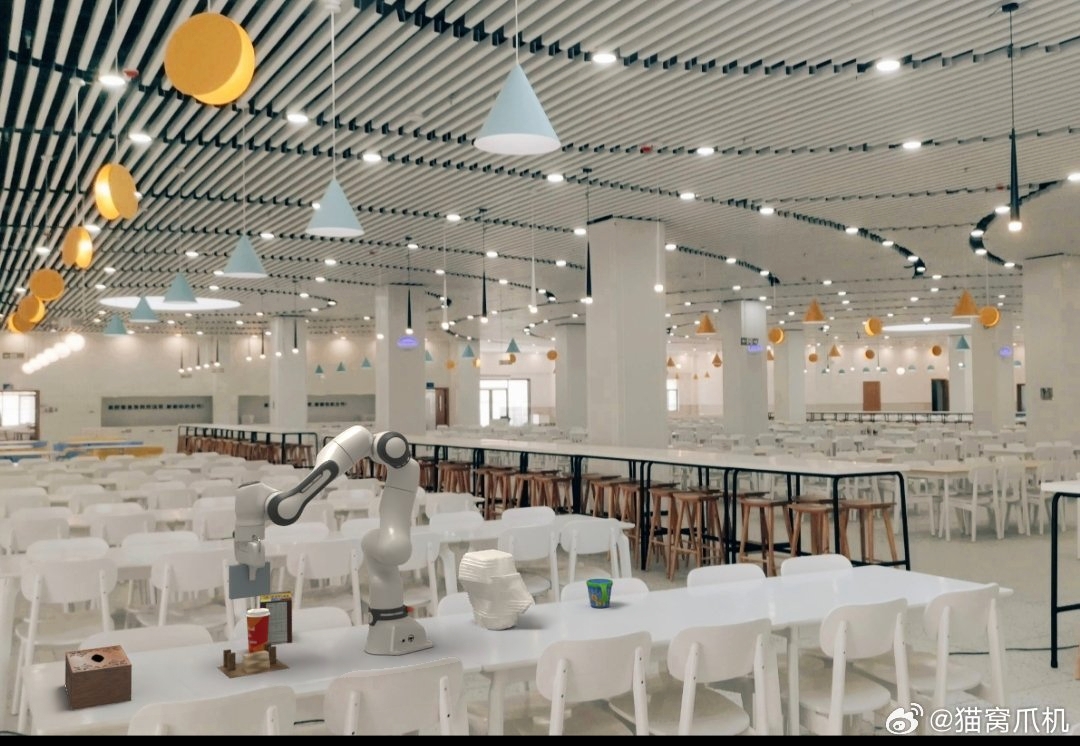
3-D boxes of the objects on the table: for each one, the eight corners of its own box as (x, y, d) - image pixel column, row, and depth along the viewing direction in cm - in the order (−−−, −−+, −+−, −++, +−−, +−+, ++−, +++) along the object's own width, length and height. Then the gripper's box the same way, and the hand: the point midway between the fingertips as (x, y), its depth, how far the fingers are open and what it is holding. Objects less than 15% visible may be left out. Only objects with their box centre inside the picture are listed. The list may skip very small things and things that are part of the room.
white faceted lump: (504, 615, 344) (503, 548, 346) (534, 630, 320) (533, 557, 321) (452, 622, 335) (451, 552, 336) (479, 637, 311) (478, 562, 312)
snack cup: (616, 610, 351) (615, 584, 351) (589, 611, 350) (589, 584, 350) (609, 602, 366) (609, 577, 367) (584, 603, 365) (583, 577, 366)
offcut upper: (265, 658, 275) (264, 650, 275) (268, 660, 273) (268, 652, 273) (242, 662, 271) (242, 654, 271) (246, 664, 268) (246, 656, 268)
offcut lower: (266, 666, 275) (266, 658, 275) (269, 669, 272) (269, 660, 273) (243, 670, 271) (243, 662, 271) (246, 673, 269) (246, 664, 269)
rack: (274, 659, 286) (274, 641, 286) (290, 670, 273) (290, 651, 274) (216, 669, 276) (216, 650, 276) (229, 681, 263) (229, 661, 264)
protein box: (290, 635, 319) (290, 590, 320) (292, 645, 304) (292, 598, 305) (259, 637, 316) (259, 593, 317) (260, 648, 301) (260, 601, 302)
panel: (267, 593, 283) (267, 561, 283) (270, 594, 281) (270, 562, 281) (228, 598, 276) (228, 565, 277) (231, 599, 274) (231, 566, 275)
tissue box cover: (65, 687, 261) (65, 652, 261) (119, 679, 268) (120, 645, 269) (72, 711, 239) (72, 672, 239) (131, 701, 247) (131, 664, 247)
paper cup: (244, 652, 296) (244, 609, 297) (268, 649, 299) (268, 607, 300) (246, 658, 289) (246, 613, 289) (271, 655, 292) (271, 611, 292)
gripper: (270, 536, 273) (270, 582, 272) (250, 530, 290) (250, 573, 289) (249, 538, 269) (249, 585, 268) (230, 531, 286) (230, 575, 285)
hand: (249, 579), depth 279 cm, fingers closed on panel, 2 cm apart
